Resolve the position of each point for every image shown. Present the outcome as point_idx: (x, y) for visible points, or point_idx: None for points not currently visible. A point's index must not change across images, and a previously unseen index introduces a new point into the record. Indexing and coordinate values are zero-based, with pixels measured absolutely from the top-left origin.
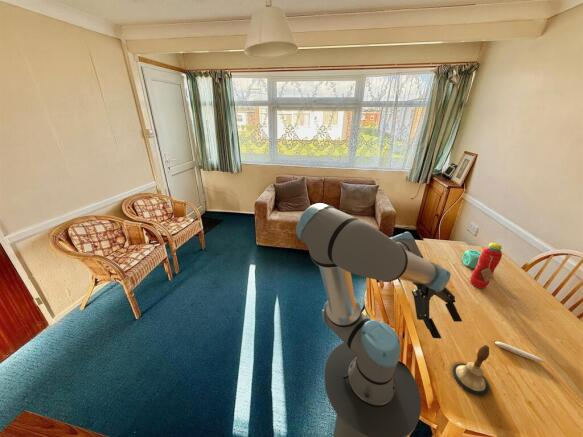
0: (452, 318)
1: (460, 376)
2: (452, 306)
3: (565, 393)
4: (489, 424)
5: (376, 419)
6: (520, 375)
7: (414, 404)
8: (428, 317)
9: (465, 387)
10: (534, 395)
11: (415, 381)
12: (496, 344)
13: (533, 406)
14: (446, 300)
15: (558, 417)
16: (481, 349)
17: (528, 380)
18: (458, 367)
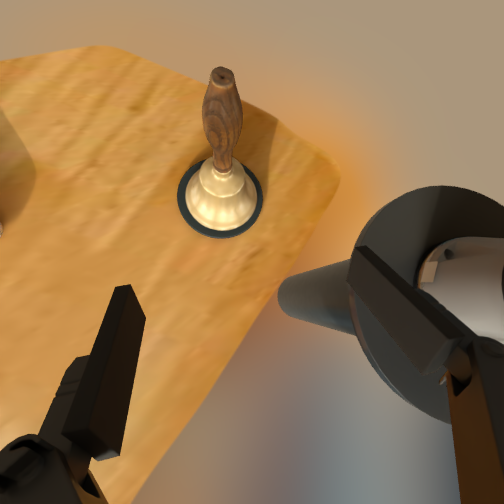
0: (142, 333)
1: (251, 205)
2: (99, 397)
3: (10, 77)
4: (277, 125)
5: (486, 226)
6: (66, 147)
7: (396, 216)
8: (495, 349)
9: (258, 187)
10: (100, 109)
11: None
12: (2, 232)
13: (137, 100)
14: (92, 498)
15: (110, 68)
16: (238, 108)
17: (62, 132)
18: (230, 224)
